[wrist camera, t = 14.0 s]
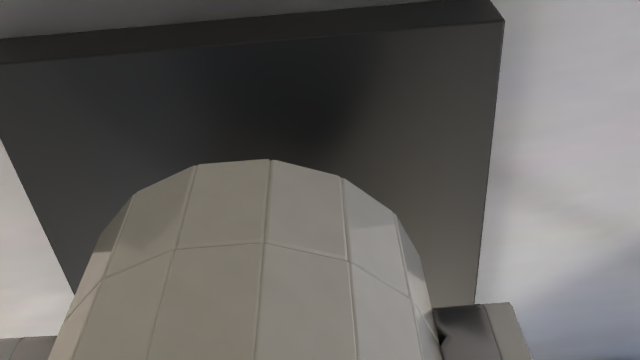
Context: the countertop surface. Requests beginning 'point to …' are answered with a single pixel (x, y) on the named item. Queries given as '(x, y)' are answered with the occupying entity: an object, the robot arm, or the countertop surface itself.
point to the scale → (266, 117)
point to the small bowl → (251, 273)
